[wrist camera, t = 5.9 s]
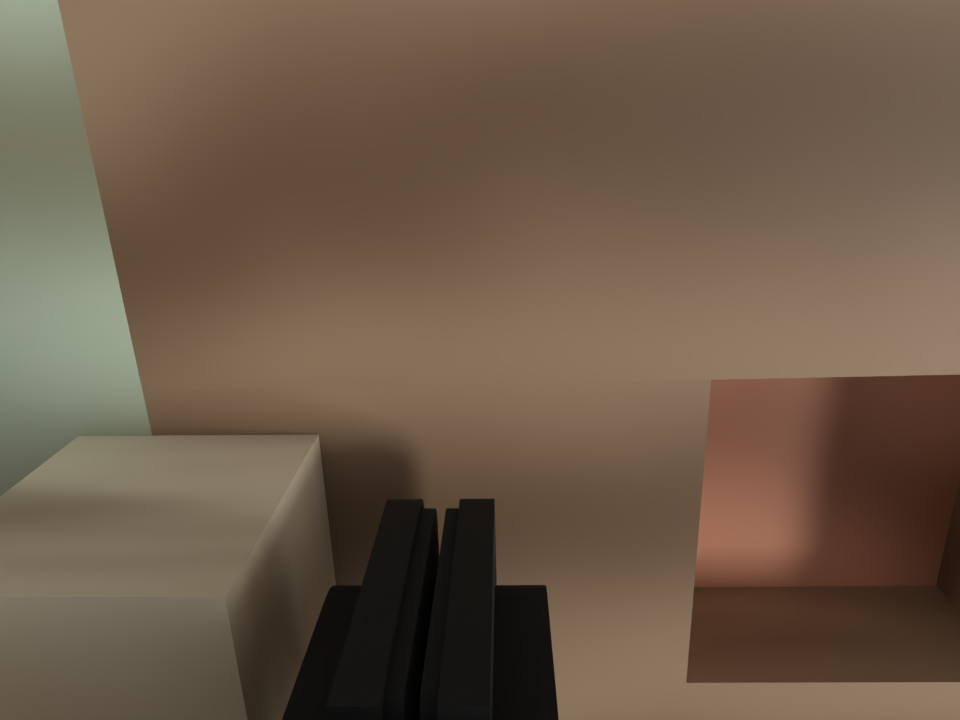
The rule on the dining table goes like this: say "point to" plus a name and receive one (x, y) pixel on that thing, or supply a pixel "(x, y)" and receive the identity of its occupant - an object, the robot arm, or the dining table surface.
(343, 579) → the board
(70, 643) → the maple block
